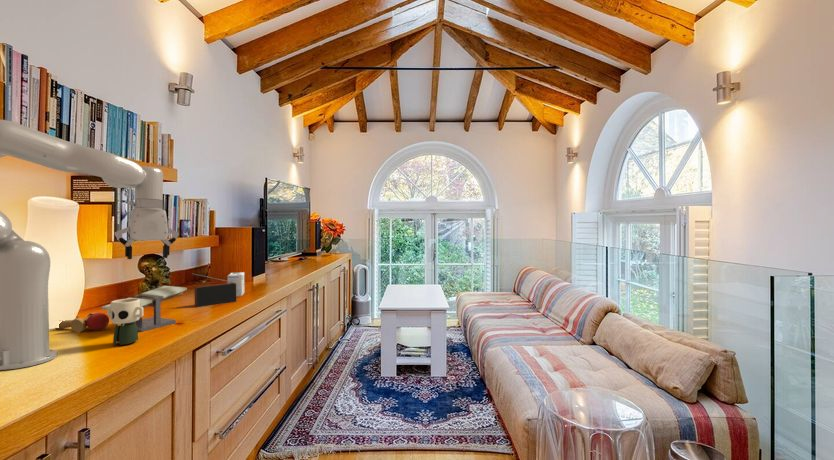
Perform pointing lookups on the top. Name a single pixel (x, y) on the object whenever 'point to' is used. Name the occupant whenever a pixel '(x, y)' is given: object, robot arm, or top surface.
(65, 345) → the top surface
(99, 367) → the top surface
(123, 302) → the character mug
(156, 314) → the stand
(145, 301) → the beam
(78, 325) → the kendama
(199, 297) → the radio
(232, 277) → the light bulb box
